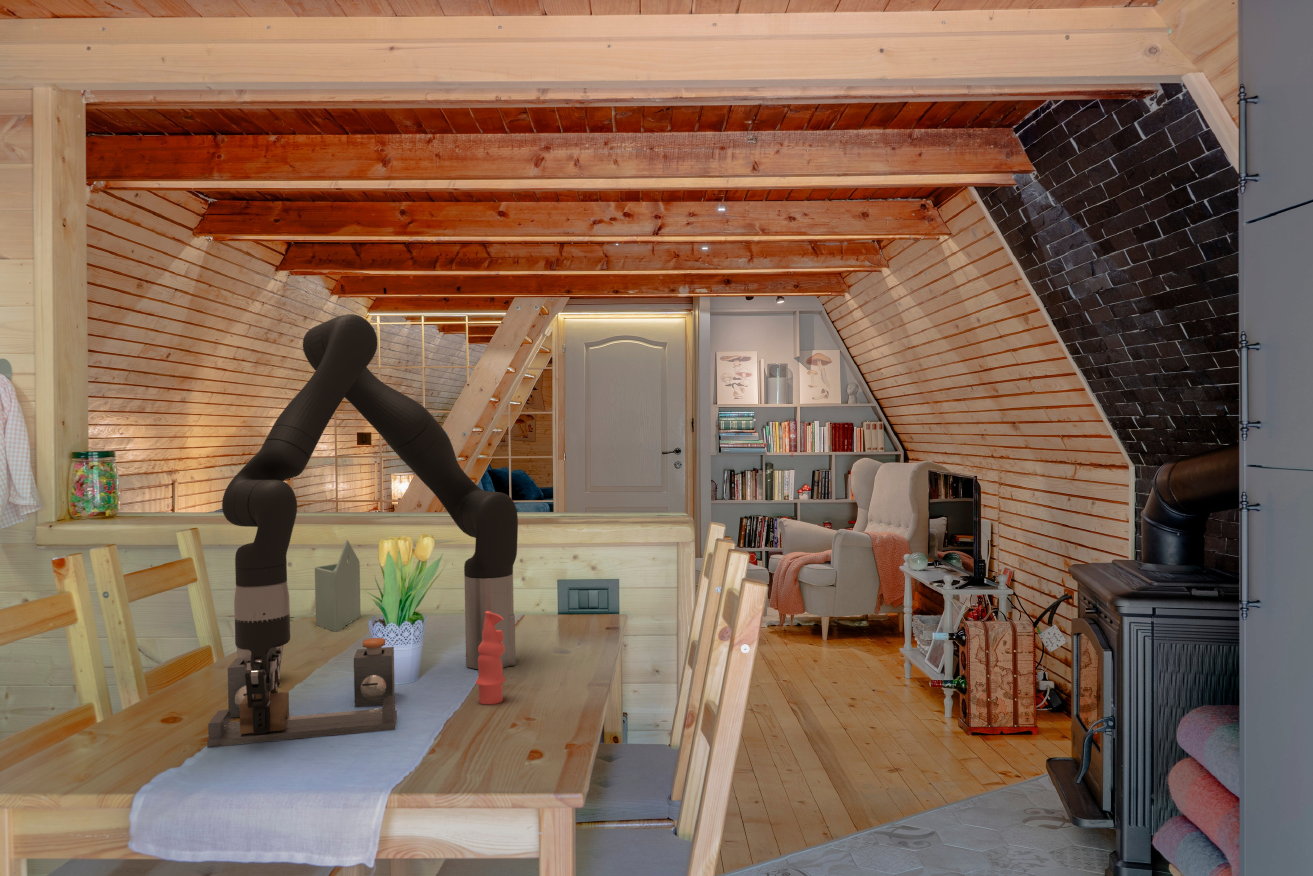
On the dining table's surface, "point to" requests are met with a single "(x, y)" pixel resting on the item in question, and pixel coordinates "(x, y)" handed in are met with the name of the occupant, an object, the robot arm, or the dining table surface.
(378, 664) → the cabinet
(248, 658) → the plunger
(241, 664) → the cabinet
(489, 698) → the figurine
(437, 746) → the dining table surface
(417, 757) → the dining table surface
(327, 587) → the planter
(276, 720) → the carriage
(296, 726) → the rail
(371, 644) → the plunger
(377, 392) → the robot arm
